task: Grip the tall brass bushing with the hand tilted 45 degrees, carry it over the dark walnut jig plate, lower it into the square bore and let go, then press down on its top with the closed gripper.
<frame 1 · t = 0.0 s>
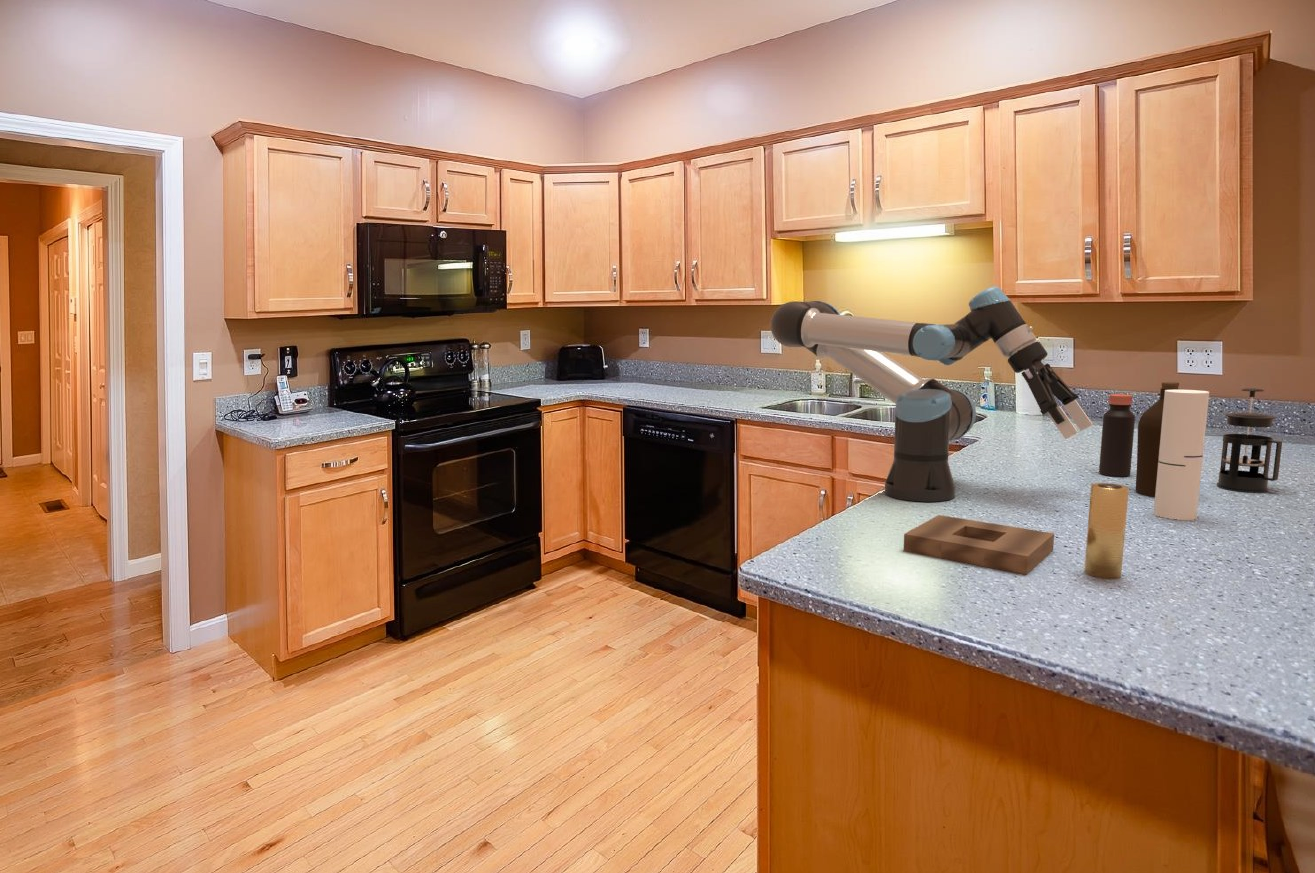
hand: (1079, 432, 161), 15 cm above the counter, tool tilted 35°, fingers open, 13 cm apart
walnut jig plate: (978, 550, 131), on the counter
bottle: (1114, 475, 190), on the counter
brass bushing: (1102, 573, 119), on the counter
french press: (1244, 489, 173), on the counter
cylindrical container: (1174, 516, 152), on the counter
olive oil: (1160, 494, 170), on the counter
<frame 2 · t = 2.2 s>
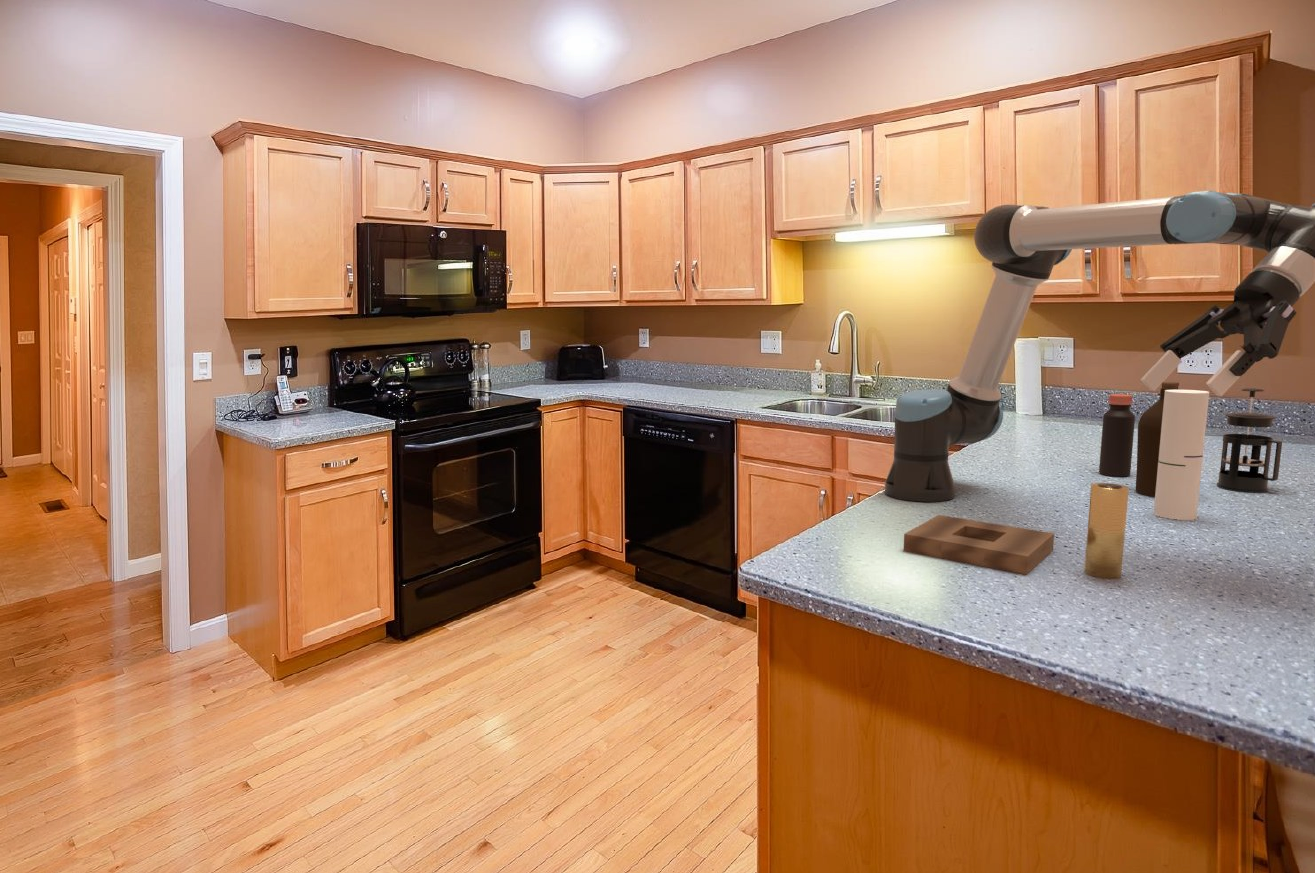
hand: (1178, 387, 117), 29 cm above the counter, tool tilted 45°, fingers open, 13 cm apart
nothing on the counter moved.
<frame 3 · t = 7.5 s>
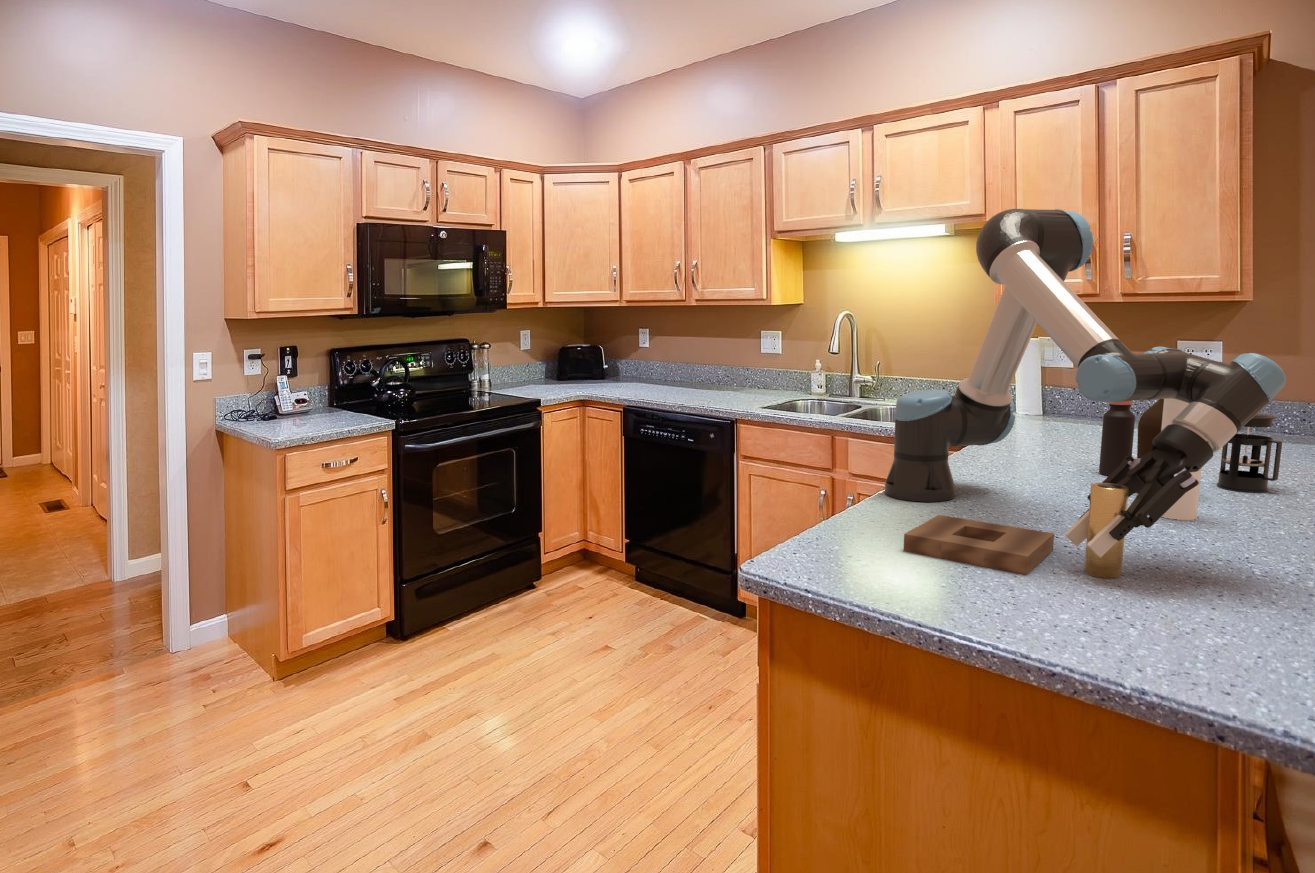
hand: (1082, 545, 118), 5 cm above the counter, tool tilted 45°, fingers closed on brass bushing, 5 cm apart
brass bushing: (1102, 573, 119), on the counter, touching gripper
everything else where it was.
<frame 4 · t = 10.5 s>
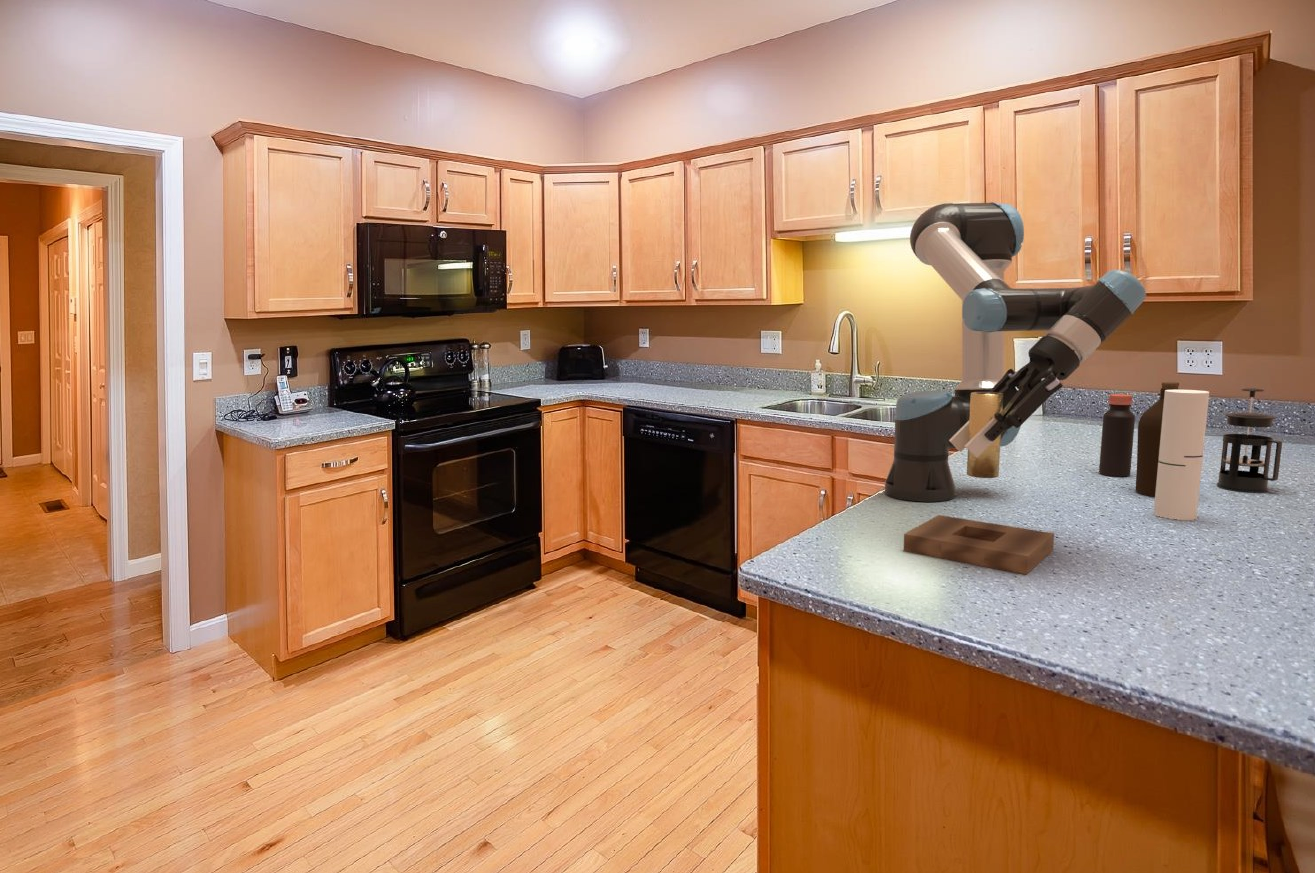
hand: (962, 448, 128), 18 cm above the counter, tool tilted 45°, fingers closed on brass bushing, 5 cm apart
brass bushing: (982, 475, 129), point 13 cm above the counter, touching gripper
everything else where it was.
when the fingers open (6 cm above the counter, at t = 13.5 s): brass bushing drops 1 cm, resting in walnut jig plate.
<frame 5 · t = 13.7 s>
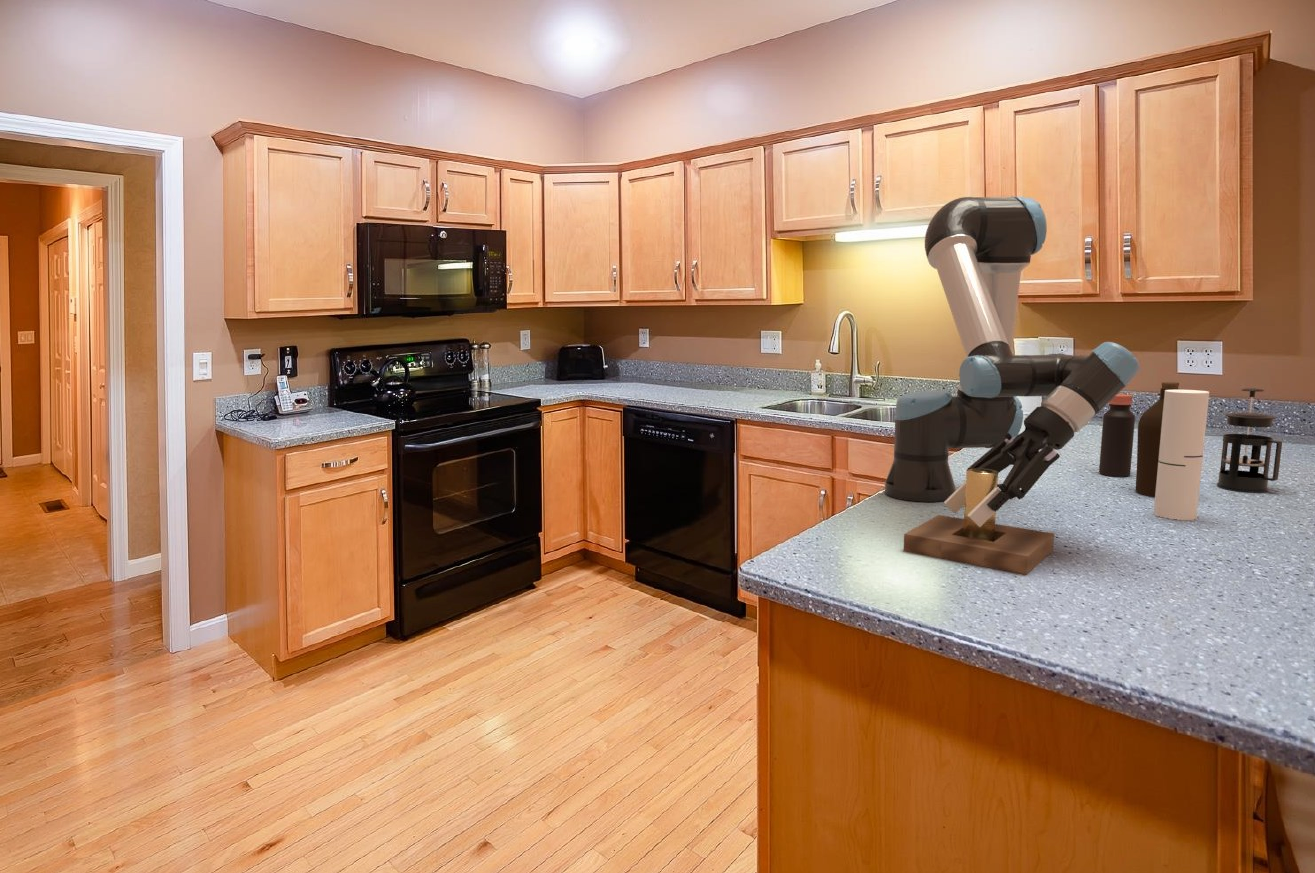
hand: (961, 514, 130), 7 cm above the counter, tool tilted 45°, fingers open, 8 cm apart
brass bushing: (978, 550, 131), resting in walnut jig plate
everything else where it was.
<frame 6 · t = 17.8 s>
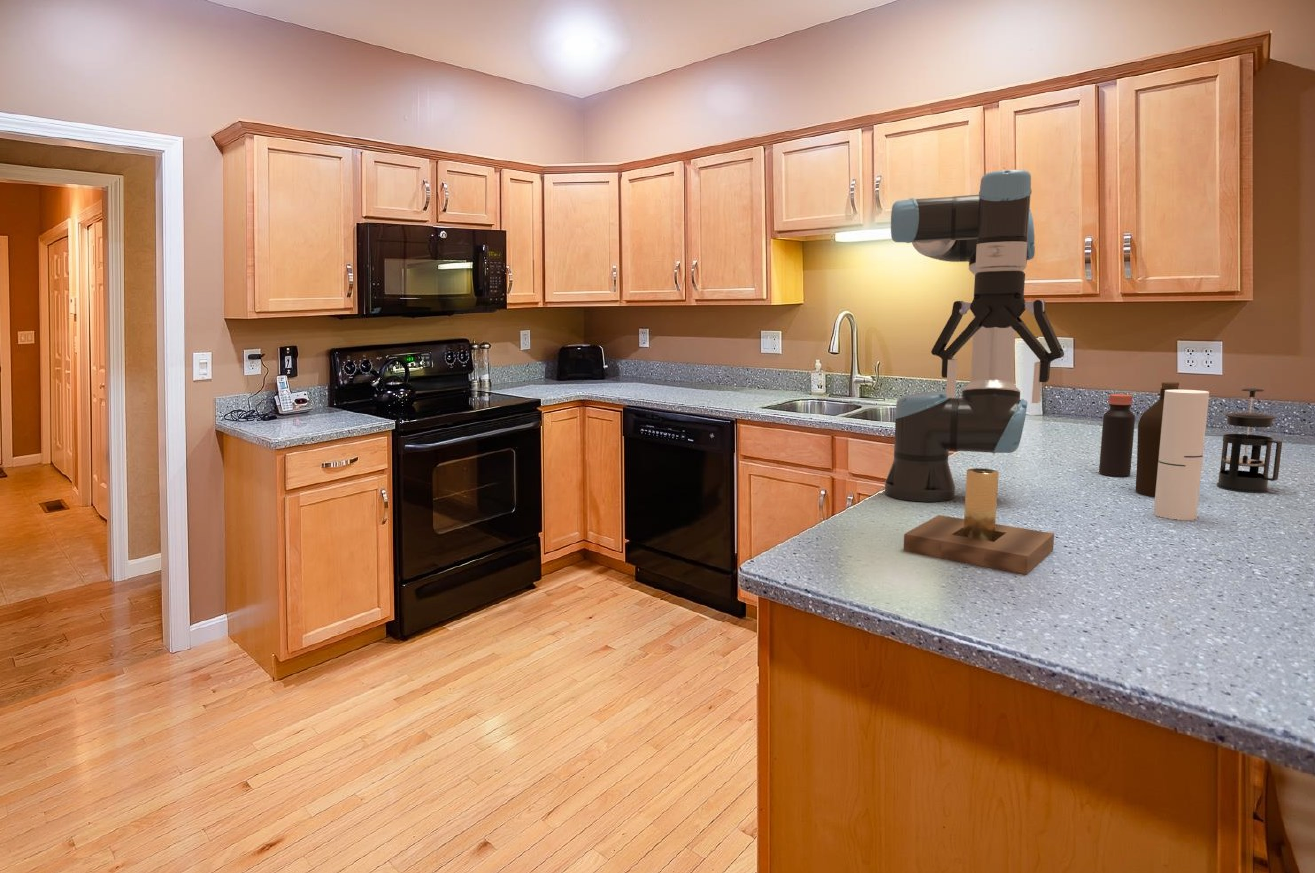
hand: (992, 399, 127), 26 cm above the counter, tool pointing down, fingers open, 13 cm apart
nothing on the counter moved.
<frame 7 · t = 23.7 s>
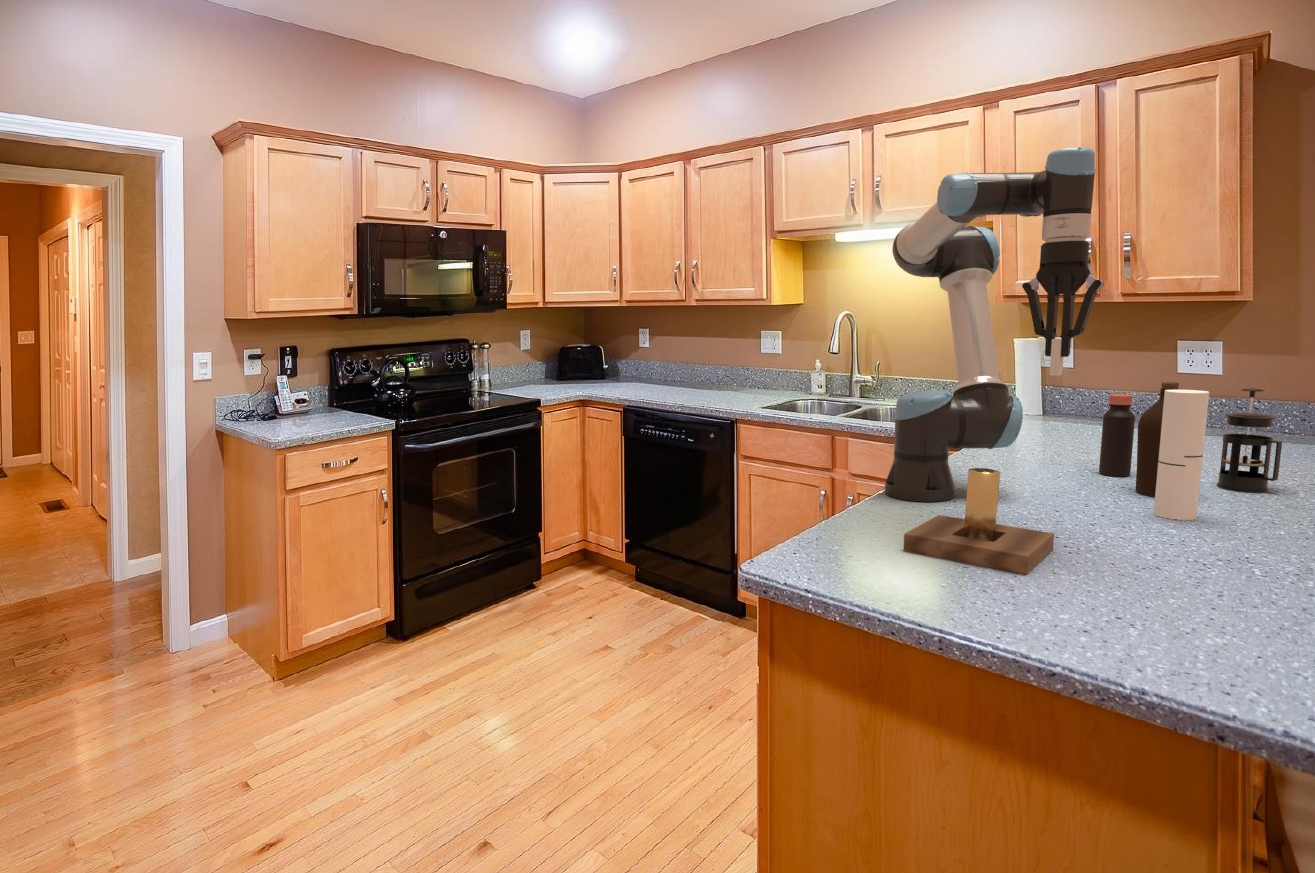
hand: (1055, 375, 137), 29 cm above the counter, tool pointing down, fingers closed
nothing on the counter moved.
at the end: brass bushing 0.1 cm off-centre on the walnut jig plate, point 0.0 cm above the walnut jig plate's base; brass bushing tilted 1°; the gripper is holding nothing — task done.
